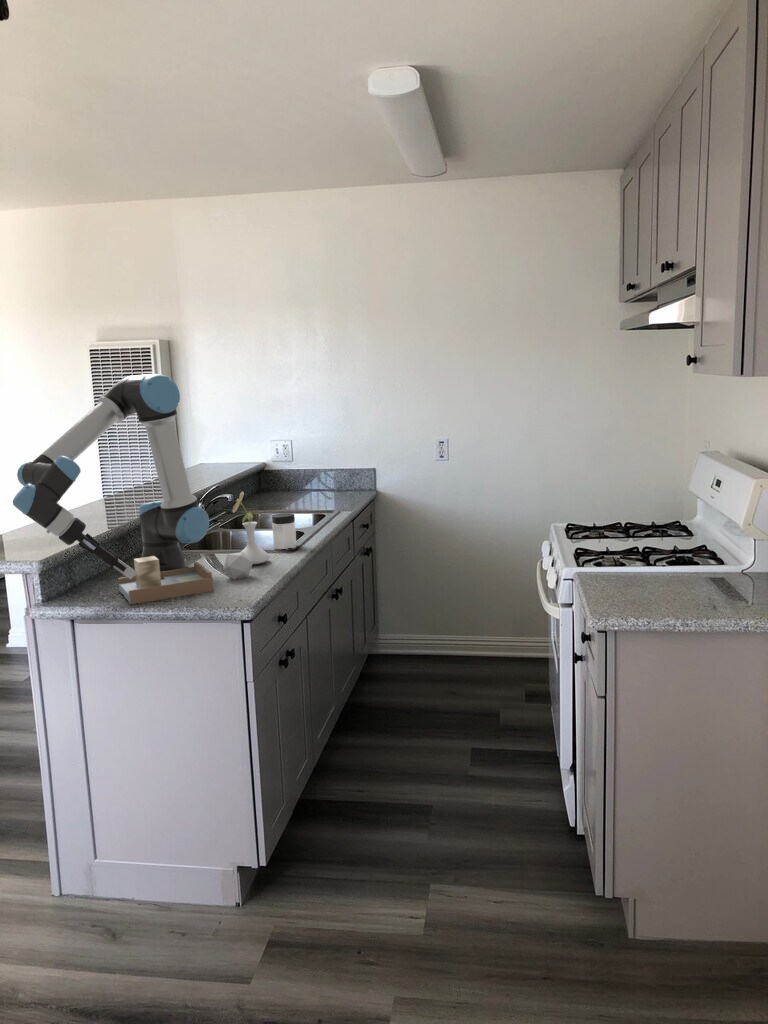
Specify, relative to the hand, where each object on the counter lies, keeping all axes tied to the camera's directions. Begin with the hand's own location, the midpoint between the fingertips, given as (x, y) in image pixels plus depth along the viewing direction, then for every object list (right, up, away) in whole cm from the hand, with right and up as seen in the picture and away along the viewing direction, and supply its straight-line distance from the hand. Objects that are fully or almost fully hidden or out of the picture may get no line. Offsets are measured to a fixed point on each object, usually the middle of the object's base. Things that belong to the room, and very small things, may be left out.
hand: (133, 575), depth 240 cm
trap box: (+8, -5, +6) cm, 11 cm away
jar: (+37, +6, +59) cm, 70 cm away
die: (+28, -2, +18) cm, 33 cm away
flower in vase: (+29, +1, +36) cm, 46 cm away
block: (+4, -3, +3) cm, 6 cm away
